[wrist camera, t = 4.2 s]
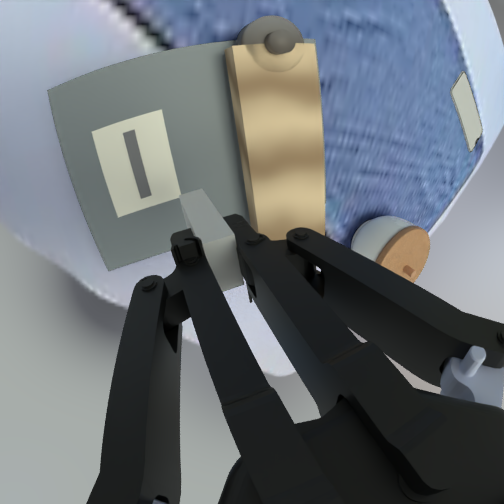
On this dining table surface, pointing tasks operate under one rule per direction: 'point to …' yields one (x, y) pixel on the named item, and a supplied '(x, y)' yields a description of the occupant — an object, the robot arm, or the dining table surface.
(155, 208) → the label panel
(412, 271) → the lidded jar
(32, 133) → the dining table surface
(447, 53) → the dining table surface
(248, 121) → the swing arm
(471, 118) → the smartphone
